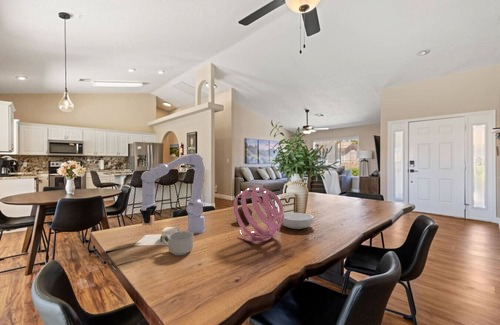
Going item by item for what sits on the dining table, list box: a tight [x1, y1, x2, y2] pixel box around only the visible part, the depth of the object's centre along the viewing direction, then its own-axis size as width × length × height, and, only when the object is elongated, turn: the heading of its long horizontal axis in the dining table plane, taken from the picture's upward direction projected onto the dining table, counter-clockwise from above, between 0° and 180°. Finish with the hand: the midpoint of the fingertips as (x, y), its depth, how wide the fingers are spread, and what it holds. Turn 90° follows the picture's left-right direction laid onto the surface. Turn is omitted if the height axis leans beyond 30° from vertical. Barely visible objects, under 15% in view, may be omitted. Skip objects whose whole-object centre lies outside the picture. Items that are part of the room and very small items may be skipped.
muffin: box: [235, 206, 253, 225], centre depth 155 cm, size 12×11×10 cm
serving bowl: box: [280, 212, 314, 230], centre depth 145 cm, size 21×21×7 cm
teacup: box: [162, 230, 194, 257], centre depth 105 cm, size 14×11×8 cm
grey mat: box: [133, 233, 168, 247], centre depth 121 cm, size 20×16×1 cm
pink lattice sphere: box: [233, 186, 285, 243], centre depth 123 cm, size 28×28×27 cm
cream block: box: [161, 226, 180, 236], centre depth 121 cm, size 7×7×2 cm
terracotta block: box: [141, 214, 155, 226], centre depth 120 cm, size 4×4×4 cm
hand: (148, 221), depth 120 cm, fingers closed on terracotta block, 4 cm apart
